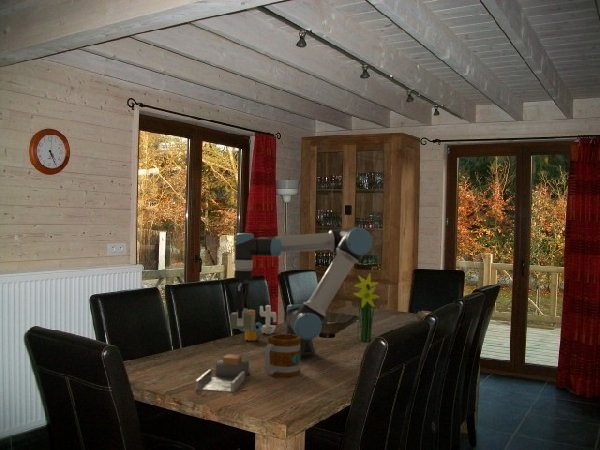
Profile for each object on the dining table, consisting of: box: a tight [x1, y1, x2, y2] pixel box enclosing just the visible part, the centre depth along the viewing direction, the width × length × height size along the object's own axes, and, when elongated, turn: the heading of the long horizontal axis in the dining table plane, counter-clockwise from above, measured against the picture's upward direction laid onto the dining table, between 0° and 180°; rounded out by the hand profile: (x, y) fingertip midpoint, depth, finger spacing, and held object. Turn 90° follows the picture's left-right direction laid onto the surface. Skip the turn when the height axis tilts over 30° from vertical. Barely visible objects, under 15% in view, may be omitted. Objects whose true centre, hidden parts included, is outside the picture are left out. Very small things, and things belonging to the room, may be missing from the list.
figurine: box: [259, 304, 277, 335], centre depth 311 cm, size 7×9×15 cm
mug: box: [264, 333, 301, 379], centre depth 226 cm, size 20×14×15 cm
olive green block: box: [229, 311, 254, 330], centre depth 243 cm, size 9×5×6 cm, turn 83°
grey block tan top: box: [215, 353, 250, 378], centre depth 228 cm, size 13×13×7 cm
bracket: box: [194, 368, 246, 393], centre depth 212 cm, size 14×16×4 cm
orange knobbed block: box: [239, 309, 263, 342], centre depth 293 cm, size 12×10×15 cm
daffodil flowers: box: [352, 272, 381, 344], centre depth 292 cm, size 17×15×35 cm
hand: (242, 324), depth 243 cm, fingers closed on olive green block, 5 cm apart
